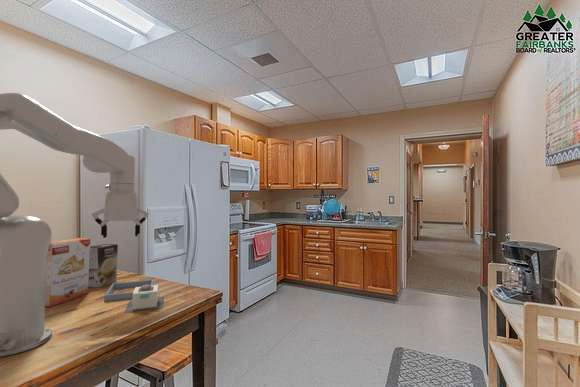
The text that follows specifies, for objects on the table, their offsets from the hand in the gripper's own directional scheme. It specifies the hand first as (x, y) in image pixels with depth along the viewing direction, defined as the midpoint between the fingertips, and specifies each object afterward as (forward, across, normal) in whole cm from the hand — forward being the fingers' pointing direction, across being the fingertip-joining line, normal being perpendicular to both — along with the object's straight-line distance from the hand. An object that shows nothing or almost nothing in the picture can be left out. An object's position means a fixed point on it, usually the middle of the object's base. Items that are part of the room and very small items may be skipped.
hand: (121, 236), depth 99 cm
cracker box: (+23, -18, +8) cm, 30 cm away
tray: (+22, +3, +4) cm, 23 cm away
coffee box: (+23, -9, +24) cm, 34 cm away
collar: (+21, +9, -11) cm, 26 cm away
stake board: (+22, +9, -11) cm, 26 cm away
